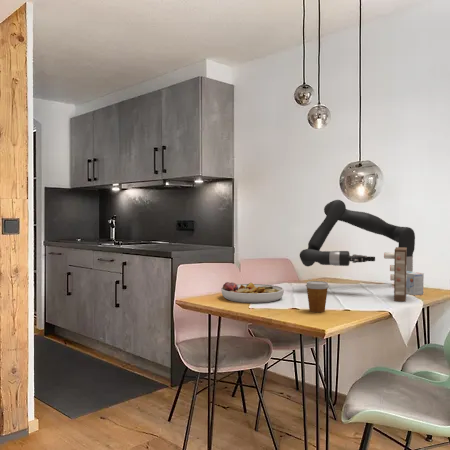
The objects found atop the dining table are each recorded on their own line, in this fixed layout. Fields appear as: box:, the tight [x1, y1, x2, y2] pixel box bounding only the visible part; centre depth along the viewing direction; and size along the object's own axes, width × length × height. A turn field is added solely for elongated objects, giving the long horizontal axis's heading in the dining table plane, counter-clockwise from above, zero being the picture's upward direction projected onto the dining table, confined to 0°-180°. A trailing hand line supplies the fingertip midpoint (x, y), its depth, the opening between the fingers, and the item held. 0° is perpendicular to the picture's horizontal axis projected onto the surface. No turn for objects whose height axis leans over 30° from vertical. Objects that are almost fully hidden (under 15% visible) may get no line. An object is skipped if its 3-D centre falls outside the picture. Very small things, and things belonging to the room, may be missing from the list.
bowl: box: [220, 281, 285, 304], centre depth 233 cm, size 30×30×8 cm
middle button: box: [389, 264, 407, 272], centre depth 228 cm, size 3×7×3 cm, turn 68°
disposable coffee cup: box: [305, 280, 330, 313], centre depth 203 cm, size 10×10×12 cm
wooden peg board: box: [393, 246, 407, 303], centre depth 232 cm, size 17×5×24 cm, turn 158°
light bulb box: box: [406, 271, 425, 296], centre depth 247 cm, size 11×7×11 cm, turn 25°
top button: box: [383, 252, 395, 260], centre depth 238 cm, size 3×7×3 cm, turn 68°
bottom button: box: [389, 273, 407, 282], centre depth 232 cm, size 3×7×3 cm, turn 68°
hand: (375, 258), depth 240 cm, fingers closed
